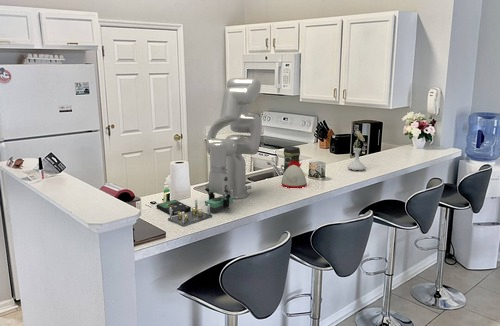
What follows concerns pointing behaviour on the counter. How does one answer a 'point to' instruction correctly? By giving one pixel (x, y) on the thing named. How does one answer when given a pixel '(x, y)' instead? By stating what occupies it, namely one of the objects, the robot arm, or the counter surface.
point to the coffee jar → (290, 155)
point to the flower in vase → (357, 156)
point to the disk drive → (173, 207)
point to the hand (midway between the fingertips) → (219, 204)
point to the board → (217, 202)
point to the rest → (217, 209)
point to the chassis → (190, 216)
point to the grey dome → (294, 176)
